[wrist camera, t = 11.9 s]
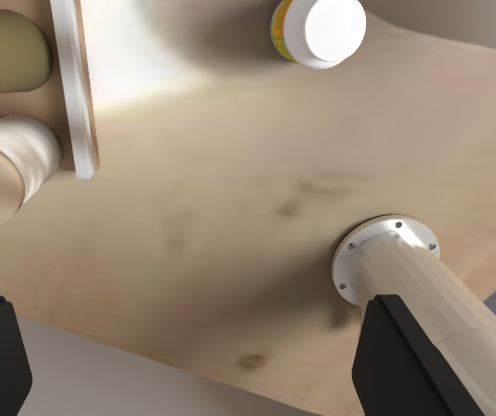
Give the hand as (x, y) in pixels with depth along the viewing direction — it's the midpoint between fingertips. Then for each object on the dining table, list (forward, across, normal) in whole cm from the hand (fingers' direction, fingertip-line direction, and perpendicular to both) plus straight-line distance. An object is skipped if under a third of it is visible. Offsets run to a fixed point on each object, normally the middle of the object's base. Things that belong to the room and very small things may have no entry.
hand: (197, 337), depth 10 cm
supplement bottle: (+27, -7, -8) cm, 30 cm away
